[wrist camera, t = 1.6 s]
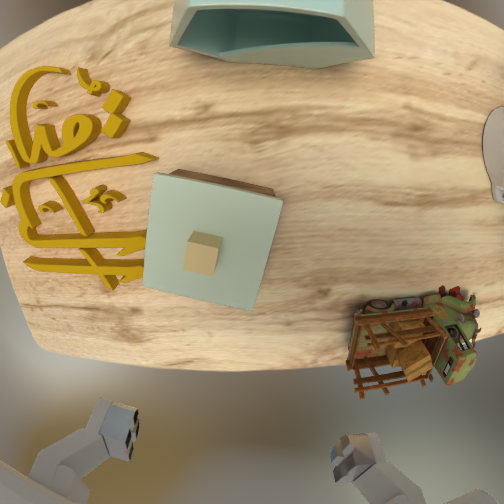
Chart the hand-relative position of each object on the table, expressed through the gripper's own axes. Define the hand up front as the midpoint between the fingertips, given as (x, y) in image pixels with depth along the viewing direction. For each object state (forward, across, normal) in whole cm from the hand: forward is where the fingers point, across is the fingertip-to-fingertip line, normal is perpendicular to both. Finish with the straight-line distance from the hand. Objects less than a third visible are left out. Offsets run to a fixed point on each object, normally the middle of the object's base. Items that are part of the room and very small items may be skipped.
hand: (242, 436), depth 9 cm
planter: (+30, +3, -23) cm, 38 cm away
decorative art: (+31, +27, -1) cm, 41 cm away
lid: (+23, +4, +2) cm, 23 cm away
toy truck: (+30, -30, +9) cm, 43 cm away
